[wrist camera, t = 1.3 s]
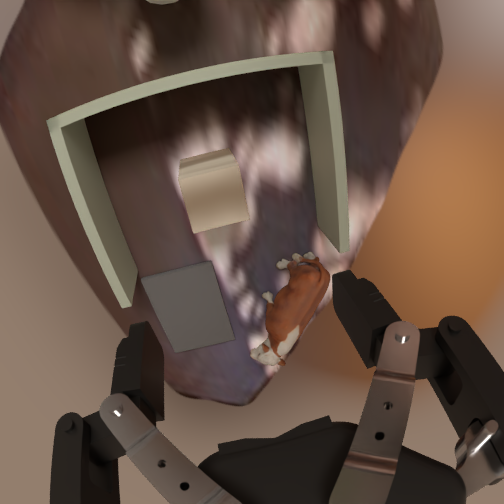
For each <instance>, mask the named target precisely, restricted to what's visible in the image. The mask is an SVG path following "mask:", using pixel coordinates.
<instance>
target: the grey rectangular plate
mask: <svg viewBox="0 0 504 504" xmlns="http://www.w3.org/2000/svg"><path fill="white" fill-rule="evenodd" d="M141 282H142V284H143V286H144V289H145V291H146V293H147V295H148V297H149V300H150V302H151V304H152V306H153V308H154V310H155V312H156V315H157V317H158V319H159V321H160V323H161V325H162V327H163V329H164V331H165V333H166V335H167V337H168V339H169V341H170V343H171V345H172V347H173V349H174V351H175V353H178V352H182V351H187V350H192V349H196V348H201V347H205V346H209V345H214V344H218V343H222V342H227V341H231V340H235V337H234V333H233V330H232V327H231V324H230V321H229V317H228V314H227V311H226V308H225V305H224V301H223V298H222V295H221V291H220V288H219V285H218V281H217V278H216V275H215V271H214V268H213V265H212V261H207V262H203V263H199V264H195V265H191V266H187V267H183V268H179V269H175V270H171V271H167V272H163V273H159V274H155V275H151V276H147V277H143V278H141Z"/></svg>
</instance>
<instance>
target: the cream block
mask: <svg viewBox="0 0 504 504" xmlns="http://www.w3.org/2000/svg"><path fill="white" fill-rule="evenodd" d="M178 181H179V185H180V188H181V192H182V195H183V199H184V202H185V206H186V209H187V213H188V216H189V220H190V223H191V227H192V230H193V233H198V232H202V231H206V230H210V229H214V228H218V227H222V226H226V225H230V224H234V223H238V222H242V221H246V220H250V218H249V213H248V208H247V203H246V198H245V193H244V189H243V184H242V179H241V174H240V169H239V165H238V163H237V161H236V159H235V158H234V156H233V154H232V153H231V151H230V149H229V148H226V149H222V150H218V151H214V152H209V153H205V154H201V155H197V156H193V157H190V158H186V159H182V160H180V168H179V177H178Z"/></svg>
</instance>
